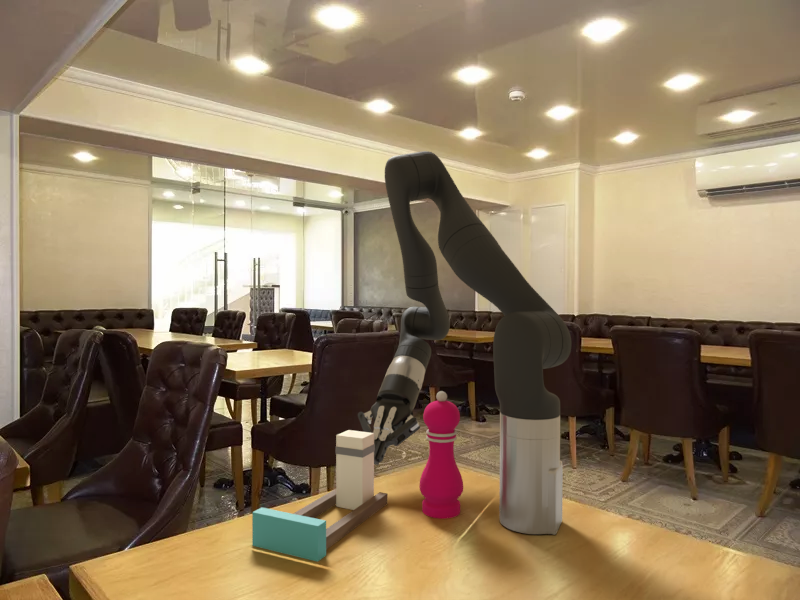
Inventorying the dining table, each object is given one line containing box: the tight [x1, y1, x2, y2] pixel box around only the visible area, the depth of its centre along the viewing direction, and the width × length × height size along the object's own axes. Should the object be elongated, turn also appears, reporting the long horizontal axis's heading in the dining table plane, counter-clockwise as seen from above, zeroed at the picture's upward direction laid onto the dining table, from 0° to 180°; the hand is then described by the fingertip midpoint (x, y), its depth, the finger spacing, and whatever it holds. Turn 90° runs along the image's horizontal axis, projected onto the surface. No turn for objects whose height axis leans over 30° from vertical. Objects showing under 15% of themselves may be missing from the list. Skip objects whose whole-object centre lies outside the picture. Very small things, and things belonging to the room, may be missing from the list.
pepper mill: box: [419, 390, 464, 520], centre depth 92 cm, size 7×7×20 cm
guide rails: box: [292, 488, 388, 551], centre depth 87 cm, size 9×22×2 cm, turn 155°
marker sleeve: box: [334, 429, 375, 511], centre depth 94 cm, size 5×4×12 cm
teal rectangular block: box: [251, 506, 327, 562], centre depth 77 cm, size 11×2×5 cm, turn 65°
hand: (372, 462), depth 100 cm, fingers closed
